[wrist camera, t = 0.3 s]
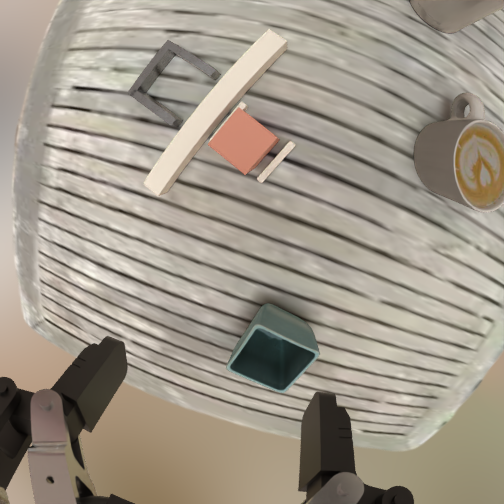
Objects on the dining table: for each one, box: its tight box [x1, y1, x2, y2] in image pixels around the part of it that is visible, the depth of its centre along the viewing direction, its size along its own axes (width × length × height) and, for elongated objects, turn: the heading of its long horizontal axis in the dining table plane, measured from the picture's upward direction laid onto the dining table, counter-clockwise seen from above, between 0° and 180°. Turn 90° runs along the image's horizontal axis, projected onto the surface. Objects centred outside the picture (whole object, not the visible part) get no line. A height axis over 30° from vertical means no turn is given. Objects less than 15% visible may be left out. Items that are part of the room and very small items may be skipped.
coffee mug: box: [414, 93, 504, 213], centre depth 25 cm, size 13×10×10 cm
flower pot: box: [226, 303, 320, 393], centre depth 37 cm, size 9×9×9 cm
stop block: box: [208, 107, 279, 175], centre depth 29 cm, size 4×4×9 cm
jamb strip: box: [143, 29, 295, 196], centre depth 31 cm, size 24×11×3 cm, turn 140°
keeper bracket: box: [128, 40, 221, 127], centre depth 30 cm, size 8×8×2 cm
